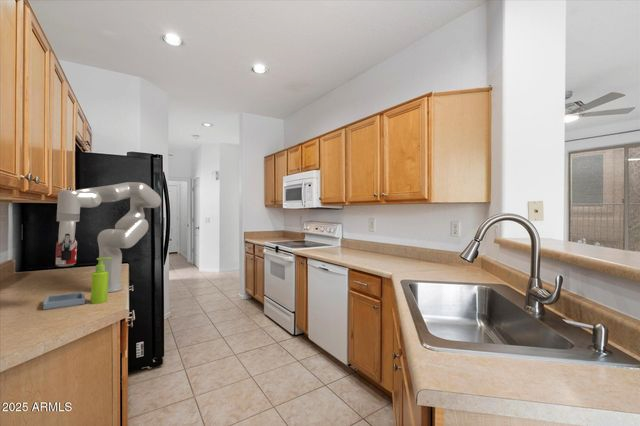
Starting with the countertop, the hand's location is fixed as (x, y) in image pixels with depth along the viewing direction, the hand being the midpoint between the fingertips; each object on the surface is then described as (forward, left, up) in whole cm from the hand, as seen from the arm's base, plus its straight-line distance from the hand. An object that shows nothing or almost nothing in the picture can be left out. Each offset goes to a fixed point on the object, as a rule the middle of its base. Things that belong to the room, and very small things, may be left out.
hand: (66, 258), depth 124 cm
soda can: (0, 0, -3) cm, 3 cm away
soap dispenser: (+5, +12, -20) cm, 24 cm away
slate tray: (0, 0, -20) cm, 20 cm away
